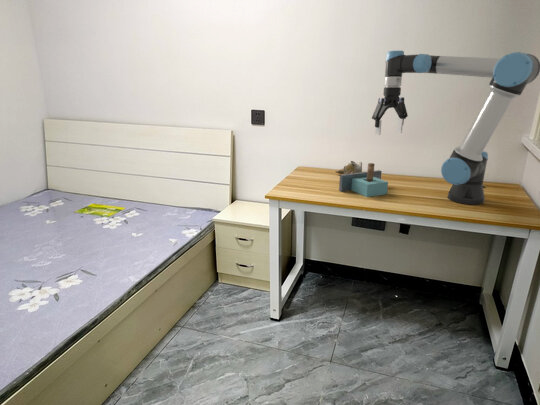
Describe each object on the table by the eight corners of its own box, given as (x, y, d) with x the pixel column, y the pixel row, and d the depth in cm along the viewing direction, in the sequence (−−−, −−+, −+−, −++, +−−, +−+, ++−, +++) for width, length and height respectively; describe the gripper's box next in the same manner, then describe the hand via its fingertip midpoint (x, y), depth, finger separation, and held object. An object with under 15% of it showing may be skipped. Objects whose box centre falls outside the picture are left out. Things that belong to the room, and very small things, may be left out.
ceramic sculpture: (368, 160, 218) (346, 165, 212) (367, 175, 221) (346, 180, 215) (355, 157, 227) (334, 161, 221) (355, 172, 230) (334, 176, 224)
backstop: (380, 186, 202) (381, 170, 199) (341, 191, 192) (342, 175, 189) (377, 185, 203) (379, 170, 201) (338, 190, 194) (339, 174, 191)
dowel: (373, 192, 191) (375, 164, 187) (368, 193, 190) (370, 164, 185) (369, 190, 194) (371, 162, 189) (364, 191, 192) (366, 163, 188)
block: (386, 194, 189) (388, 181, 187) (366, 197, 184) (367, 184, 182) (371, 187, 199) (372, 176, 197) (351, 190, 194) (352, 178, 193)
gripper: (377, 87, 172) (374, 136, 178) (418, 86, 183) (413, 132, 189) (365, 87, 178) (363, 134, 184) (406, 86, 189) (402, 130, 195)
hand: (388, 133), depth 187 cm, fingers open, 13 cm apart
